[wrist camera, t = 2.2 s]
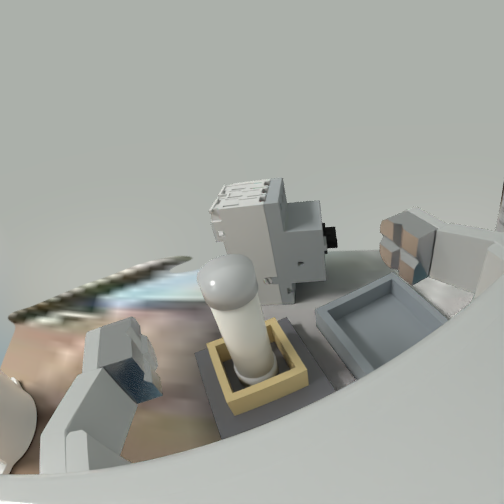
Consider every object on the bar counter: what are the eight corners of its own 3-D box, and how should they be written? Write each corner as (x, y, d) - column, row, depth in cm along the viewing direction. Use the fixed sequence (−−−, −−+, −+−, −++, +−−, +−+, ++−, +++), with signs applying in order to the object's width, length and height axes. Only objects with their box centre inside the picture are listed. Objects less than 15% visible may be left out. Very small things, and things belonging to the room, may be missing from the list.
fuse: (245, 395, 28) (203, 298, 21) (233, 365, 32) (192, 266, 24) (285, 379, 29) (261, 276, 21) (269, 350, 33) (242, 247, 25)
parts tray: (379, 411, 25) (384, 398, 23) (316, 325, 36) (315, 309, 35) (459, 353, 27) (467, 337, 25) (390, 288, 38) (392, 271, 37)
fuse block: (225, 443, 25) (212, 427, 23) (198, 360, 35) (185, 337, 33) (335, 397, 28) (336, 375, 25) (287, 325, 37) (283, 299, 35)
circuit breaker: (339, 301, 39) (335, 197, 31) (236, 306, 42) (206, 210, 34) (336, 266, 45) (329, 172, 37) (245, 272, 48) (222, 185, 40)
